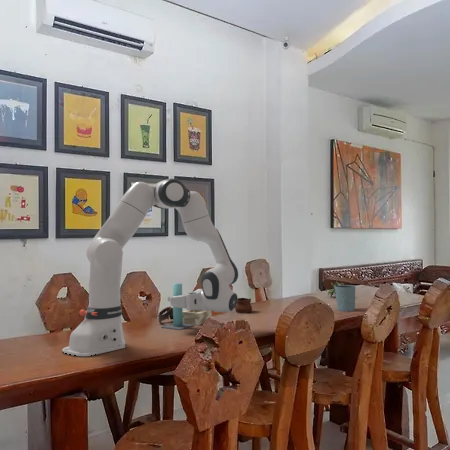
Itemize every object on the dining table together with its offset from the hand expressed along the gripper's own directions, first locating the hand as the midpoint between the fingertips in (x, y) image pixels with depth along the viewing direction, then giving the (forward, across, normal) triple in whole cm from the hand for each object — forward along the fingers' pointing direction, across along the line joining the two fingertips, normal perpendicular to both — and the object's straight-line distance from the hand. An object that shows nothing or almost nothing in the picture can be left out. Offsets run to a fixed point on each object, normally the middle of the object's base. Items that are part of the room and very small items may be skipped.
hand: (175, 297), depth 195 cm
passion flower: (-34, -110, +13) cm, 116 cm away
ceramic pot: (-8, -44, +13) cm, 46 cm away
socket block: (-2, -12, +12) cm, 17 cm away
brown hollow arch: (+8, -6, +13) cm, 16 cm away
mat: (-1, 0, +12) cm, 13 cm away
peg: (-1, 0, +12) cm, 12 cm away
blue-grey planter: (-51, -72, +13) cm, 89 cm away
